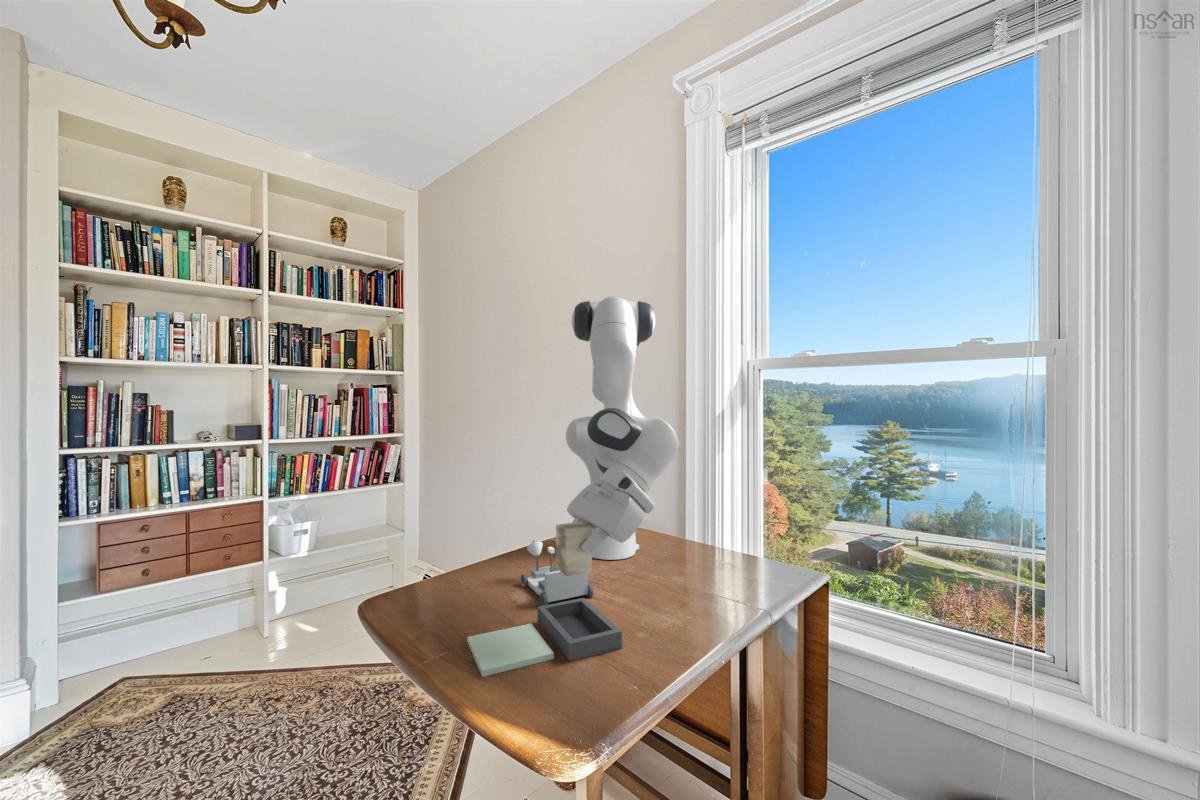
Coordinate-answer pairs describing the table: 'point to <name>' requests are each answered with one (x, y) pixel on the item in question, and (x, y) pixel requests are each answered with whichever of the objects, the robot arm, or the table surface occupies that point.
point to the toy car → (554, 580)
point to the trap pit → (579, 629)
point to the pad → (508, 649)
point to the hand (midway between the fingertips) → (575, 545)
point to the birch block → (572, 548)
